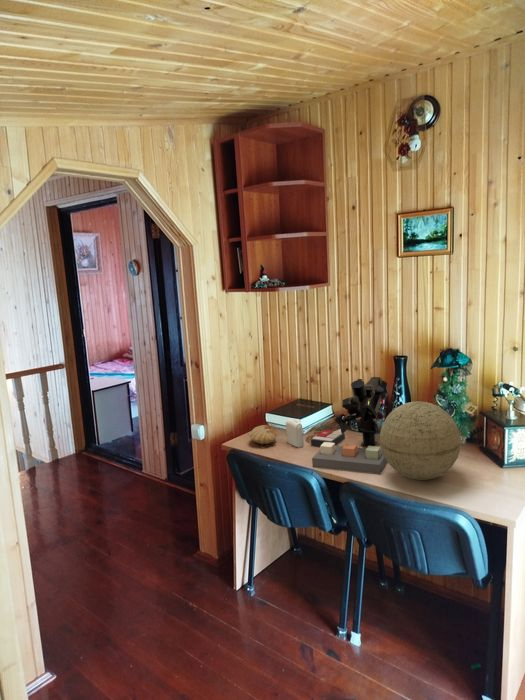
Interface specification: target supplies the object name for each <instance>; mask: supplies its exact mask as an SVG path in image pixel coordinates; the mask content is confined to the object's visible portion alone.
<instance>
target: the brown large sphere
mask: <svg viewBox="0 0 525 700" xmlns="http://www.w3.org/2000/svg"><path fill="white" fill-rule="evenodd" d="M379 433H380V434H379V445H380V447H381V450H382V452H383V455H384V457H385V459H386V460H387V464H388V465H389V466H391V468H392V469H393V470H394V471H395V472H396V473H399V474H400V475H402V476H403V477H406V478H409V479H413V480H418V481H427V480H433V479H437V478H439V477H441V476H442V475H444V474H446V473H448V471H450V469H451V468H452V467H453V466H454V465H455V463H456V462H457V459H458V457H459V455H460V452H461V444H462V443H461V441H462V440H461V439H462V438H461V433H460V431H459V428H458V426H457V424H456V422H455V420H454V419H453V417H452V416H451V415H450V414H449V413H448V412H447V411H446V410H444V409H443V408H442V407H440V406H439V405H436V404H433V403H431V402H427V401H411V402H406V403H404V404H401V405H399V406H397V407H396V408H394V409H393V410H392V411H391V412H389V414H388V415H387V416H386V418H385V419H384V422H383V423H382V425H381V429H380V431H379Z"/></svg>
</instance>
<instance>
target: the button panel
mask: <svg viewBox="0 0 525 700" xmlns="http://www.w3.org/2000/svg"><path fill="white" fill-rule="evenodd" d="M344 446H345V445H342V446H341V445H336V446H335V453H334V454H333V455H325V454H321V449H319V450H318V451H317V452H316V453H315V454H314V455H313V456H312V457H311V461H312V463H311V464H312V468H320V469H321V468H322V469H327V470H329V469H330V470H339V471H340V470H341V471H348V472H356V473H367V474H373V475H374V474H375V475H380V474H381V473H382V472H383V470H384V468H385V467H386V465H387V464H388V462H387V460H386V459H385V457H384V455H383V452H382V450H381V457H380V459H379V460H376V459H366V449H367V448H368V447H366V448H365V447H357V449H358V454H357V456H356V457H345V456H343V447H344Z"/></svg>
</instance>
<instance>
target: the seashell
mask: <svg viewBox="0 0 525 700" xmlns="http://www.w3.org/2000/svg"><path fill="white" fill-rule="evenodd" d="M273 427H277V425H275V424H273V423H272V424H266V425H265V424H264V425H263V424H262V425H259V426H256V427H253V429H252V430H251V431H250V433H249V434H248V437H249V438H250V440H252V441H253V442H254V443H258V444H261V445H264V444H265V445H266V444H269V445H270V444H271V443H273V442H274V441H276V438H277V436H278V434H276V430H275V428H273Z"/></svg>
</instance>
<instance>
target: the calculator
mask: <svg viewBox="0 0 525 700" xmlns="http://www.w3.org/2000/svg"><path fill="white" fill-rule="evenodd" d="M345 433H346V432H344V433H343V434H342V433H341V431H336V430H335V431H334V430H328V429H326V430H325V429H324V430H323V431H320V432H319V433H318V434H316V435H315V436H313V437H311V439H310V447H314V448H315V447H317V448H320V446H321V445H322V444H323V443H324V442H330V443H335V446H338V444H340V443H341V442H343V441H344V440H345V439H346V436H345V435H346V434H345Z"/></svg>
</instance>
